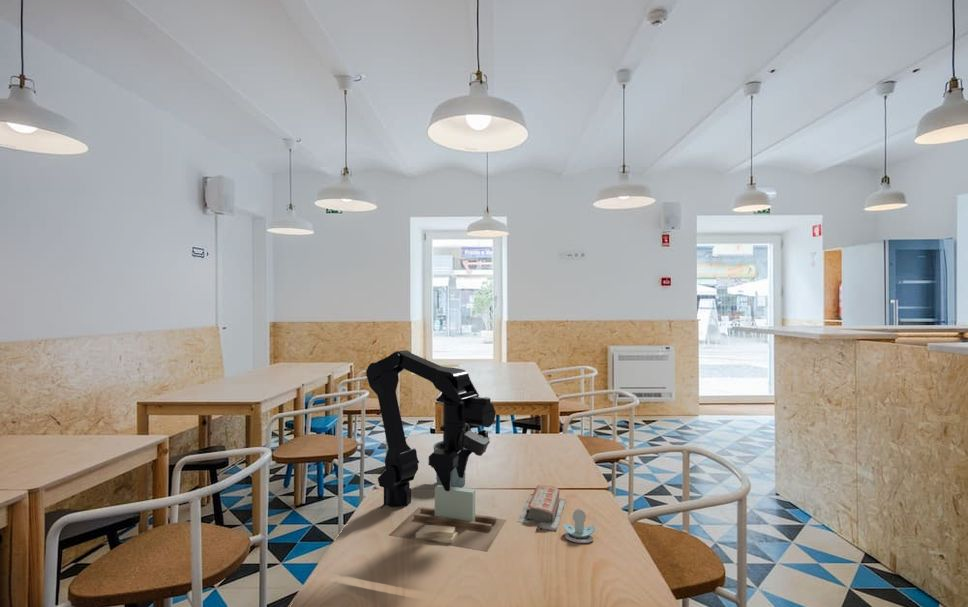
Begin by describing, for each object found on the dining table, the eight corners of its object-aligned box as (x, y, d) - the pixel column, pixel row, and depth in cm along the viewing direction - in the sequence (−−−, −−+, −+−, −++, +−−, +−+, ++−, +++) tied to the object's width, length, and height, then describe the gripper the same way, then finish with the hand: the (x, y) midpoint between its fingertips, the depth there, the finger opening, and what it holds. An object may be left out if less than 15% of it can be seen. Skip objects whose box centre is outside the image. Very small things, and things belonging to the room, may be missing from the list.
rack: (388, 539, 113) (388, 529, 113) (418, 511, 129) (418, 502, 129) (487, 555, 106) (487, 545, 106) (506, 523, 121) (506, 515, 121)
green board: (434, 519, 121) (434, 487, 121) (437, 516, 123) (437, 484, 123) (472, 525, 118) (472, 492, 118) (475, 521, 120) (475, 489, 120)
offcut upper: (421, 535, 111) (421, 530, 111) (425, 529, 114) (425, 524, 114) (452, 537, 110) (452, 532, 110) (455, 531, 113) (455, 526, 113)
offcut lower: (415, 537, 112) (415, 533, 112) (422, 530, 116) (422, 526, 116) (452, 543, 109) (452, 539, 109) (457, 536, 113) (457, 532, 113)
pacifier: (595, 546, 111) (594, 533, 117) (595, 519, 110) (594, 507, 116) (562, 543, 112) (563, 530, 118) (562, 516, 112) (563, 505, 118)
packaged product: (530, 482, 138) (565, 485, 135) (530, 499, 138) (565, 503, 135) (516, 508, 120) (557, 513, 118) (516, 527, 120) (557, 533, 118)
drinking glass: (473, 482, 149) (473, 443, 149) (454, 493, 140) (454, 451, 140) (446, 476, 154) (446, 438, 154) (426, 486, 146) (426, 446, 146)
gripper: (473, 434, 109) (472, 503, 109) (496, 415, 127) (496, 474, 127) (427, 429, 113) (427, 497, 113) (456, 412, 130) (456, 470, 131)
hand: (454, 484), depth 121 cm, fingers open, 9 cm apart
